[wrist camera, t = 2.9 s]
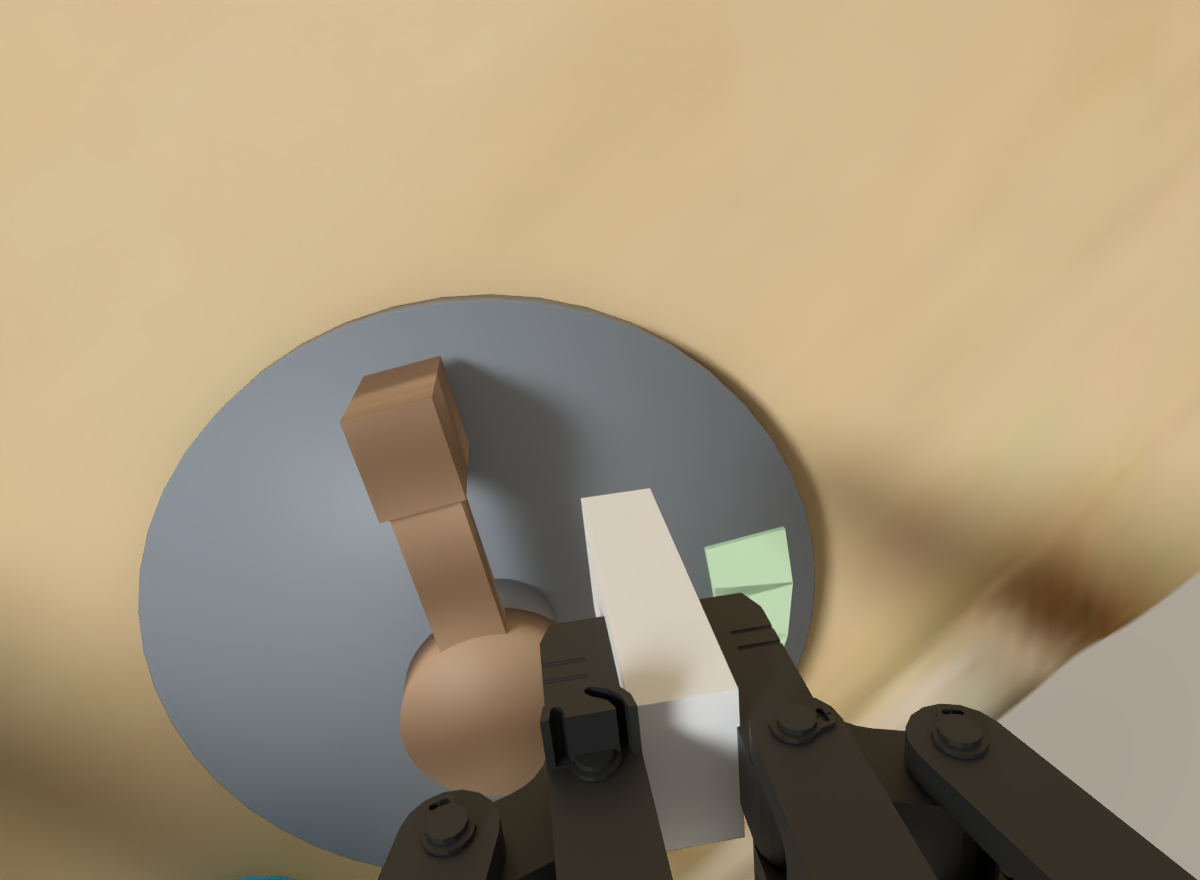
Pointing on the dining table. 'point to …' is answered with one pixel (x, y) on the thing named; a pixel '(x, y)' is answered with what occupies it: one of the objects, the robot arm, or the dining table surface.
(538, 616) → the dial arm
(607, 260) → the dining table surface
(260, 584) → the dial plate
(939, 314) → the dining table surface
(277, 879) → the mug
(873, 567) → the dining table surface
